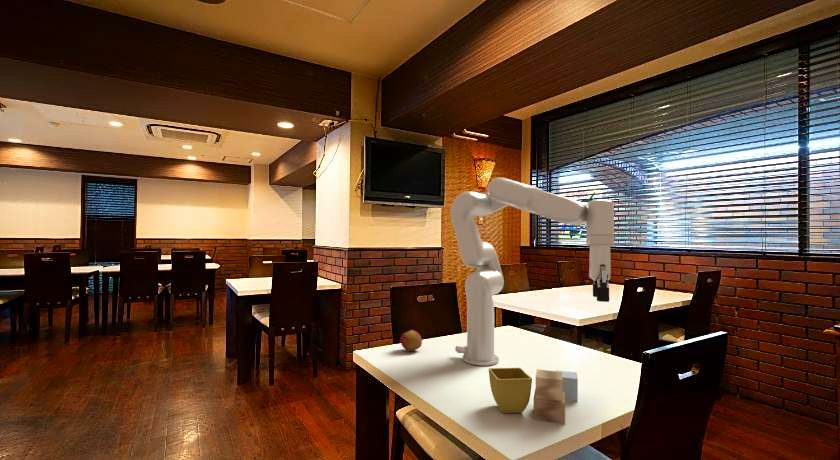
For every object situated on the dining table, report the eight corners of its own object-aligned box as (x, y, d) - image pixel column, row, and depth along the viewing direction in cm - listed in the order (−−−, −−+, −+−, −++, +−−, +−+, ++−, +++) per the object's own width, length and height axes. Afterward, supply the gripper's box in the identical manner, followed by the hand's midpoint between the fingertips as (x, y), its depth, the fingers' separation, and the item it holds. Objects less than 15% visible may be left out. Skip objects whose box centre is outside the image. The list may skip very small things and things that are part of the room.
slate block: (555, 399, 104) (555, 376, 104) (555, 391, 109) (555, 370, 110) (577, 402, 102) (577, 379, 103) (576, 394, 108) (576, 372, 108)
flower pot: (487, 402, 101) (488, 367, 102) (520, 401, 102) (520, 366, 102) (497, 417, 93) (497, 379, 93) (532, 416, 93) (533, 378, 94)
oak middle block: (535, 398, 92) (535, 377, 92) (536, 389, 98) (536, 369, 98) (562, 401, 90) (562, 380, 91) (562, 392, 96) (562, 372, 96)
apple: (411, 347, 154) (411, 326, 154) (425, 351, 148) (425, 330, 148) (396, 350, 148) (396, 329, 149) (410, 355, 142) (410, 333, 143)
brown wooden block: (533, 420, 92) (533, 398, 92) (535, 408, 99) (535, 388, 99) (565, 425, 90) (565, 403, 90) (564, 412, 96) (564, 392, 96)
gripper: (583, 241, 125) (584, 294, 125) (589, 241, 109) (590, 302, 108) (609, 241, 123) (610, 295, 122) (619, 241, 106) (620, 304, 106)
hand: (600, 299), depth 115 cm, fingers open, 9 cm apart
